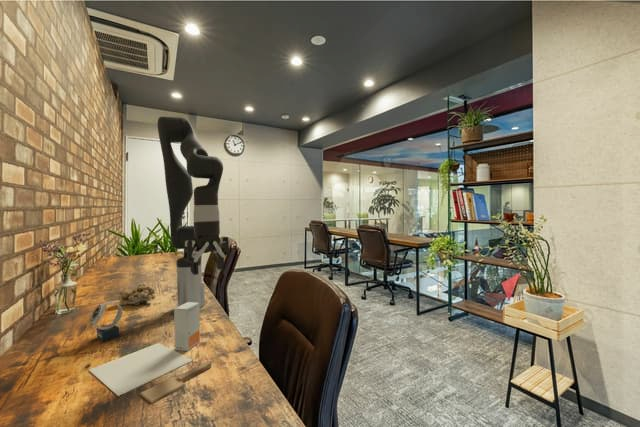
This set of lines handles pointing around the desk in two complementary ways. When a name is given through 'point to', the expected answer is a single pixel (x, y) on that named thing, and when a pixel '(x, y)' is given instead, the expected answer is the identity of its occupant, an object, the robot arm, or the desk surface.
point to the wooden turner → (172, 384)
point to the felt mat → (138, 368)
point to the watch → (106, 331)
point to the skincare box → (187, 326)
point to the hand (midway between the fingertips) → (208, 271)
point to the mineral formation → (136, 295)
